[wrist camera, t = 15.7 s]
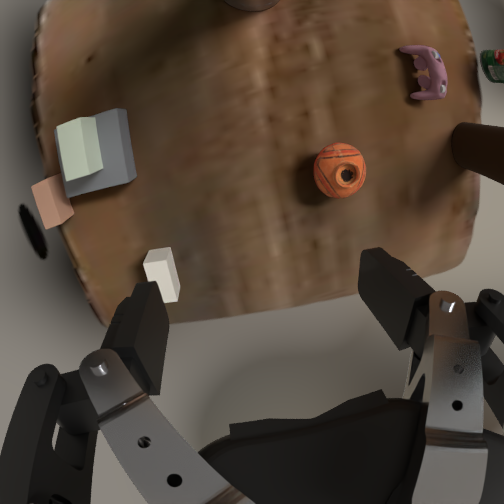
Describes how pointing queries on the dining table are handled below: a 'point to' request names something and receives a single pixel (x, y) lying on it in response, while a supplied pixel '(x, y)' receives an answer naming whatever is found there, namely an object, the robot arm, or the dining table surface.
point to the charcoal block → (106, 155)
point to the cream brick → (163, 273)
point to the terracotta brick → (52, 201)
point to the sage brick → (79, 147)
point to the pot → (339, 170)
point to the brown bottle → (480, 149)
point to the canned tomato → (493, 65)
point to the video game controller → (436, 71)
